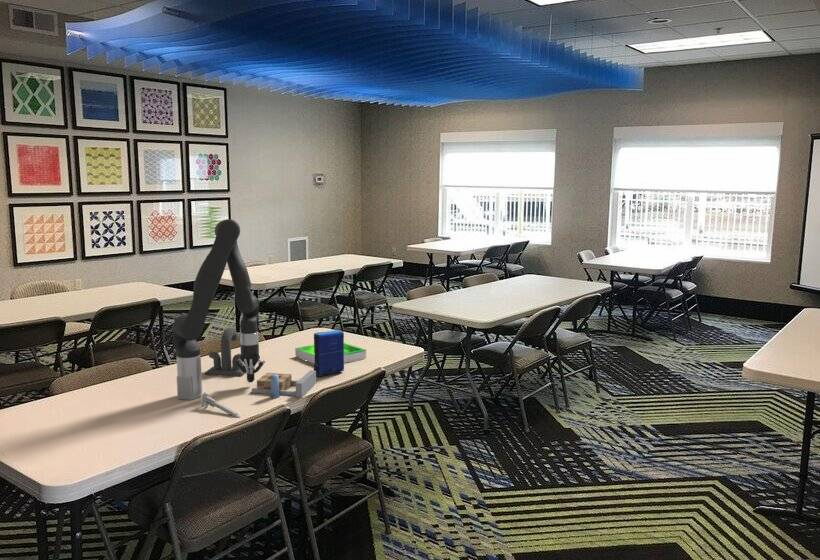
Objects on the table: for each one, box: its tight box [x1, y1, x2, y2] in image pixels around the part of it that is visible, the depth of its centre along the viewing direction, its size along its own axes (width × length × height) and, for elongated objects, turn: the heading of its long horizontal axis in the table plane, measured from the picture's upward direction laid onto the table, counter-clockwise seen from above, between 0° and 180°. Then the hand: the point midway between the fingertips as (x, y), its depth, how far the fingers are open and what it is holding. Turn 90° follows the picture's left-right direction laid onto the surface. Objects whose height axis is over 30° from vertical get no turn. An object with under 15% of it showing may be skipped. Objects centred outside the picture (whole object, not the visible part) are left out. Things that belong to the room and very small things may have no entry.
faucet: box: [204, 327, 246, 377], centre depth 296 cm, size 18×16×20 cm
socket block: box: [256, 372, 293, 391], centre depth 272 cm, size 11×11×4 cm
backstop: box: [251, 369, 317, 399], centre depth 271 cm, size 18×22×6 cm
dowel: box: [270, 374, 280, 399], centre depth 261 cm, size 3×3×9 cm
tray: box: [294, 342, 367, 364], centre depth 319 cm, size 25×25×5 cm
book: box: [313, 329, 345, 377], centre depth 291 cm, size 14×5×20 cm, turn 126°
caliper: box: [200, 391, 241, 418], centre depth 244 cm, size 20×1×6 cm, turn 58°
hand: (250, 381), depth 274 cm, fingers closed
